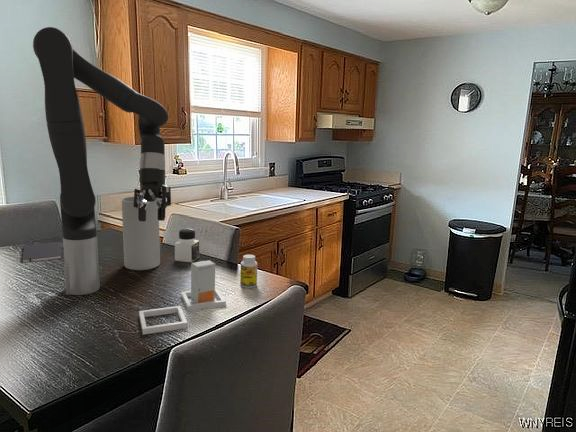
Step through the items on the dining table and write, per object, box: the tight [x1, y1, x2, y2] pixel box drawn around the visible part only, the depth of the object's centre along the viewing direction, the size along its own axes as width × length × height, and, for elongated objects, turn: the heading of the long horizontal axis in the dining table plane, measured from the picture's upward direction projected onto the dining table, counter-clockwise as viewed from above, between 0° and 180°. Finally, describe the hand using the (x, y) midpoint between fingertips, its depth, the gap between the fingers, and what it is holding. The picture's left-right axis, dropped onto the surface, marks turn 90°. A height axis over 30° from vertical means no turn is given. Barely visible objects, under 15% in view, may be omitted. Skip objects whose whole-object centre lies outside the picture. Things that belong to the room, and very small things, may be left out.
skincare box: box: [190, 259, 216, 304], centre depth 123 cm, size 6×4×12 cm
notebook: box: [22, 241, 63, 263], centre depth 164 cm, size 13×2×21 cm
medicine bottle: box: [174, 228, 200, 263], centre depth 162 cm, size 7×7×12 cm
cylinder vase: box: [121, 196, 161, 271], centre depth 151 cm, size 12×12×25 cm
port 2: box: [180, 287, 227, 312], centre depth 125 cm, size 11×13×2 cm
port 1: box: [138, 305, 188, 336], centre depth 111 cm, size 11×13×2 cm
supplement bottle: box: [239, 254, 258, 289], centre depth 138 cm, size 6×6×10 cm
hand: (151, 220), depth 128 cm, fingers open, 8 cm apart
